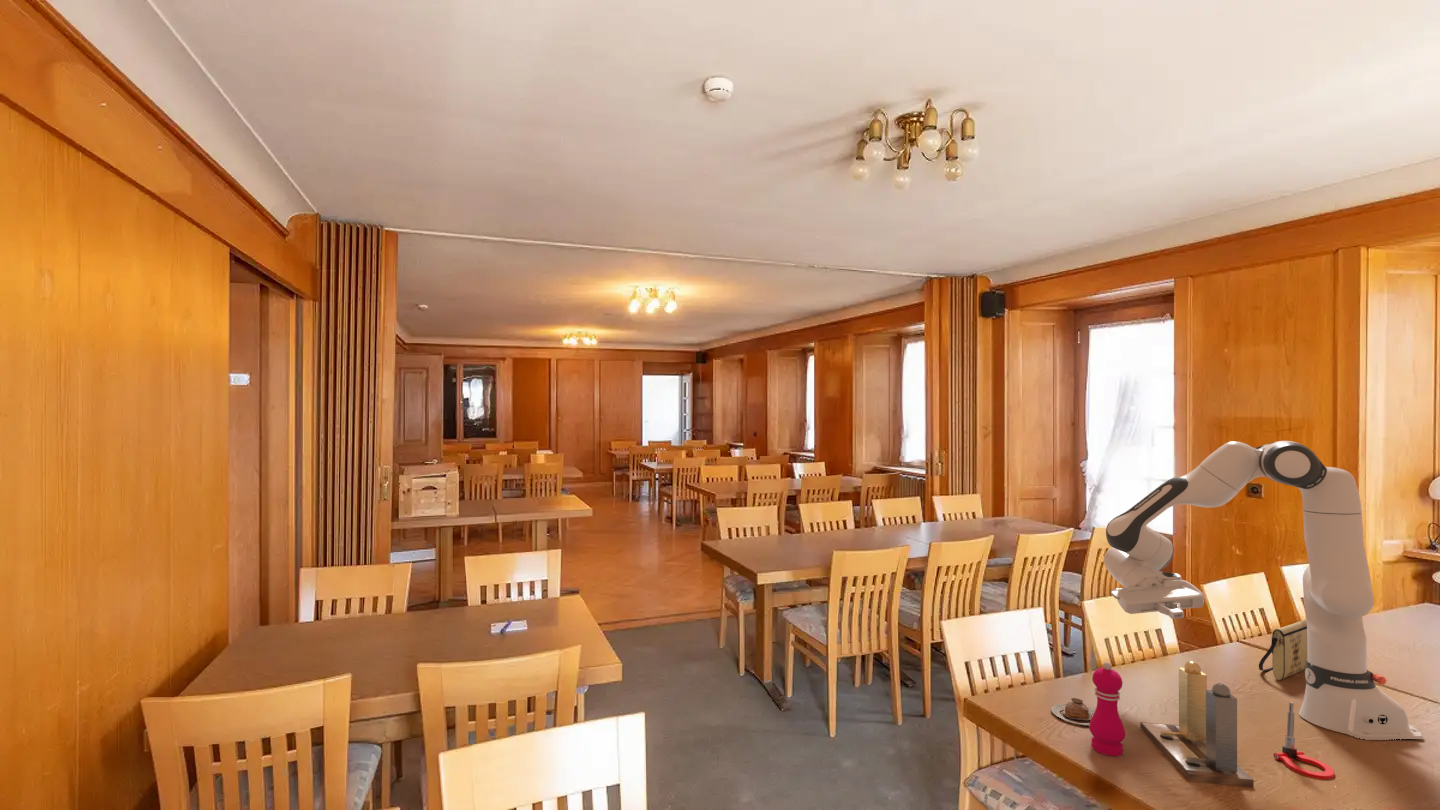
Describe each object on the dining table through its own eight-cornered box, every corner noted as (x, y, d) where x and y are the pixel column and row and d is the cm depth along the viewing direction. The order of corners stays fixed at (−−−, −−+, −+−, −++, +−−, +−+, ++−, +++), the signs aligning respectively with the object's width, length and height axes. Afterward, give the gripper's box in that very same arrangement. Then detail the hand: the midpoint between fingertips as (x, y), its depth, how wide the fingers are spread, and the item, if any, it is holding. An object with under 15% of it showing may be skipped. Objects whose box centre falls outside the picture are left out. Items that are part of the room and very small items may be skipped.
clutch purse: (1296, 657, 214) (1296, 610, 214) (1324, 665, 208) (1324, 616, 208) (1251, 675, 199) (1251, 624, 199) (1280, 684, 193) (1280, 631, 193)
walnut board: (1194, 732, 163) (1194, 726, 163) (1253, 787, 139) (1253, 779, 139) (1140, 728, 165) (1140, 722, 165) (1189, 780, 142) (1189, 773, 142)
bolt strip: (1181, 727, 163) (1181, 725, 163) (1233, 775, 141) (1233, 773, 141) (1141, 723, 164) (1141, 722, 164) (1186, 771, 143) (1186, 769, 143)
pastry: (1050, 704, 179) (1050, 687, 179) (1102, 713, 174) (1102, 695, 174) (1052, 723, 169) (1052, 704, 169) (1107, 733, 163) (1107, 714, 163)
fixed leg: (1226, 762, 146) (1226, 680, 146) (1237, 772, 142) (1237, 688, 142) (1183, 758, 147) (1182, 677, 147) (1192, 768, 143) (1192, 685, 143)
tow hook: (1345, 779, 143) (1302, 755, 152) (1347, 720, 143) (1304, 699, 152) (1310, 782, 142) (1269, 758, 151) (1313, 722, 142) (1271, 702, 151)
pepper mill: (1130, 759, 150) (1130, 669, 151) (1095, 755, 152) (1095, 666, 152) (1118, 743, 157) (1118, 657, 158) (1084, 740, 159) (1084, 655, 159)
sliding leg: (1197, 733, 158) (1197, 659, 158) (1206, 742, 154) (1206, 665, 154) (1157, 730, 159) (1157, 656, 159) (1165, 738, 155) (1165, 662, 155)
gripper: (1108, 580, 185) (1137, 609, 172) (1184, 572, 184) (1219, 601, 171) (1107, 600, 187) (1136, 630, 173) (1182, 592, 186) (1217, 622, 173)
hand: (1178, 615), depth 172 cm, fingers closed
